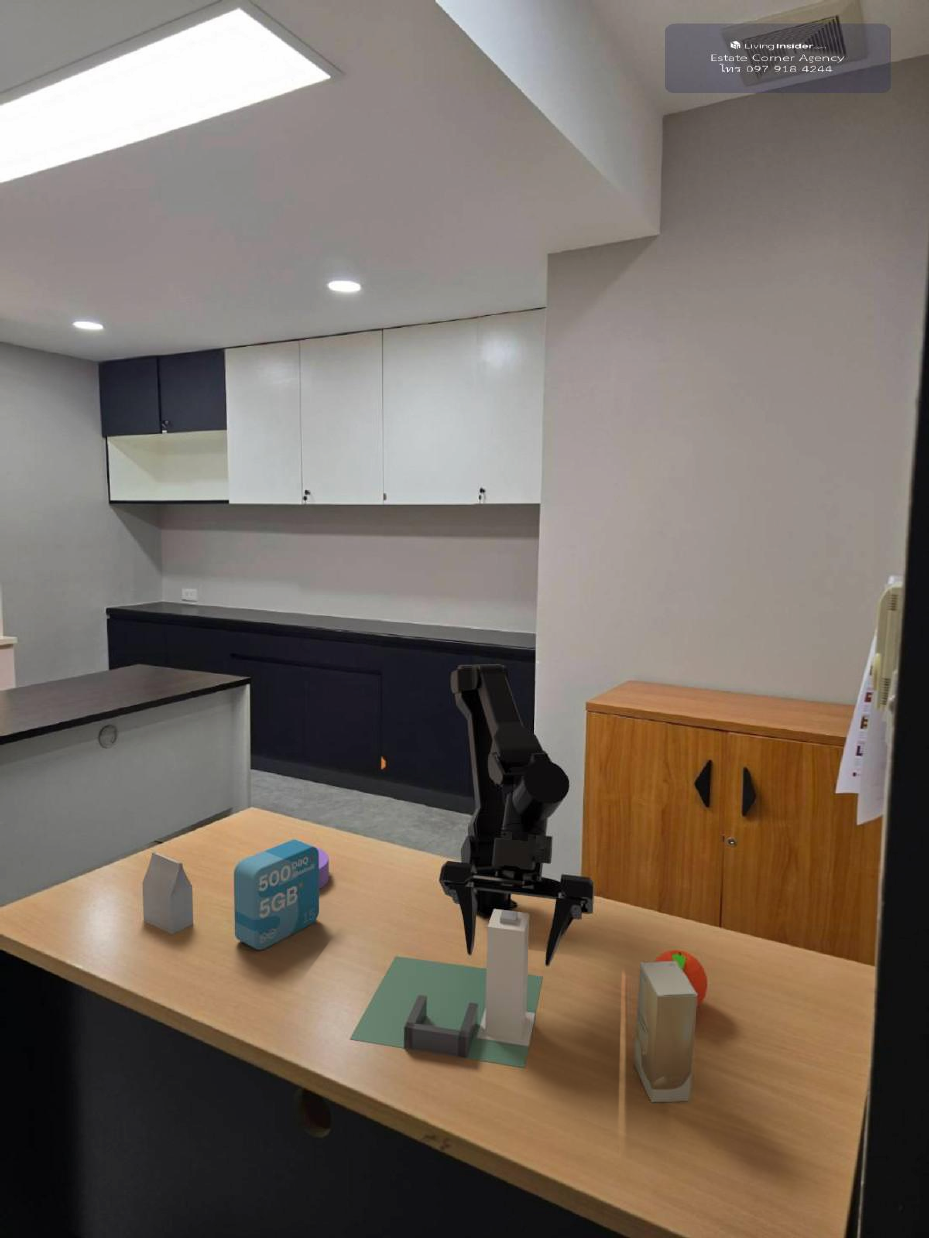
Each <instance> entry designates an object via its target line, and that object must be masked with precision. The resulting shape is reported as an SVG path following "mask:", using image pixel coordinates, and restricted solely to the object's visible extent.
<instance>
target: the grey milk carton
mask: <svg viewBox="0 0 929 1238" xmlns="http://www.w3.org/2000/svg"><path fill="white" fill-rule="evenodd" d="M193 900H194V899H193V884H192V883H191V881H190V879H189V878H188V876H187V874H186V872H185V869H184V867H183V863H182V862H180V861H177V860H175V859H173V858H170V857H168V856H167V855H166V856H165V855H163V854H161V853H158V852H156V851H154V852H151V857H150V860H149V863H148V867H147V869H146V872H145V874H144V877H143V881H142V906H143V907H142V909H143V914H142V915H143V922H145V923H148V924H150V925H151V926H153V927H156V928H157V929H160V930H162V931H164V933H165V932H166V933H167V934H168V935H173V934H176V933H178V932H180V931H182V930H184V929H186V928H188V927H190V926H193V925H194V904H193V903H194V902H193Z"/></svg>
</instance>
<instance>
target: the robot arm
mask: <svg viewBox="0 0 929 1238" xmlns="http://www.w3.org/2000/svg"><path fill="white" fill-rule="evenodd" d="M508 674H509V673H508V668H507V666H506V665H502V664H500V663H496V664H495V663H494V664H492V663H491V664H459V665H458V666H457V669H455V670H454V671H452V672H451V675H450V687H451V688H450V689H451V692H452V693H453V694H454V697H455V704H456V707H457V708H458V710H459V711H460V712H461V713H462V715H463V716H464V718H465V719H466V720H467V729H468V739H469V751H470V760H471V771H472V772H471V773H472V781H473V782H472V783H473V789H474V790H473V792H474V802H475V810H474V813H473V814H472V817H471V819H470V822H469V823H468V826H467V835H466V836H465V839H464V841H463V843H462V844H461V845H462V846H461V848H460V858H461V859H460V860H461V861H454V860H453V861H452V860H447V861H446V862H444V864H443V865H442V866H441V869H440V874H439V878H438V882H439V885H440V886H441V888H442V891H443V893H444V894H445V896H448V897H451V899H452V901H453V903H454V904H455V905H459V907H460V910H461V911H460V913H461V917H462V922H463V929H464V936H465V937H464V938H465V943H466V944H465V945H466V952H467V954H468V956H472V954H473V951H474V946H475V938H476V937H475V936H476V926H477V913H478V914H479V915H481V916H483V917H484V918H491V916H492V913H493V910H494V909H499V910H507V911H511V910H512V909H514V908H517V907H518V902H517V901H515V900H513V899H512V897H511V896H512V895H517V896H525V897H534V898H540V899H541V898H542V899H547V900H549V899H550V900H555V903H554V904H555V905H554V911H553V916H552V922H551V926H550V931H549V936H548V941H547V945H546V950H545V960H544V961H545V963H544V964H545V966H546V967H549V966H550V965H551V963H552V960H553V958H554V957H555V954H556V951H557V949H558V948H559V946H560V942H561V940H562V938H563V937H564V935H565V934H566V932H567V930H568V929H569V928H570V925H571V924H572V922H573V921H574V920H577V921H578V920H579V921H580V920H582V918H583V914H584V915H591V914H593V913H594V901H595V900H594V899H595V898H594V897H595V887H594V886H595V885H594V881H593V880H592V879H591V878H590V877H588V876H580V875H572V874H563V873H561V875H560V882H549V881H542V877H543V875H542V874H543V867H544V864H548V865H549V864H551V863H552V856H553V836H551V835H547V830H548V829H547V828H548V819H549V818H550V817H551V816H552V815H553V814H554V813H555V812H556V810H557V809H558V807H559V806H560V805H561V804H562V802H563V801H564V799H565V798H566V796H567V795H568V793H569V792H570V791H569V790H570V779H569V776H568V775H567V774H566V771H564V769H563V768H562V767H561V766H560V765H558V764H556V763H555V762H554V761H552V759H551V757H549V754H548V753H547V751H545V750H544V749H543V746H542V745H541V743H540V741H539V738H538V737H537V735H536V734H535V733H533V732H532V731H531V730H529V729H528V728H527V727H525V726H524V724H523V722H522V720H521V716H520V714H519V711H518V708H517V705H516V702H515V699H514V696H513V694H512V690H511V688H510V684H509V683H508V682H509V675H508ZM505 787H514V788H513V789H512V790H511V791H510V792H509V793H508V794H507V796H506V799H504V797H505V796H504V788H505ZM505 800H506V801H505Z"/></svg>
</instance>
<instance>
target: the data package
mask: <svg viewBox="0 0 929 1238" xmlns="http://www.w3.org/2000/svg"><path fill="white" fill-rule="evenodd" d="M316 847H317V846H313V845H311V844H309V843H305V842H303V841H300V840H298V839H291V840H288V841H286V842H283V843H281V844H277V845H276V846H273V847H270V848H268V849H265V850H263V851H261V852H257V853H256V854H253V855H250V856H248V857H246V858H243V859H241V860H240V861H238V863H237V864H236V865H235V867H234V871H233V903H234V905H233V907H234V908H233V909H234V912H233V913H234V936H235V938H236V939H237V940H238V941H240V942H242V943H244V944H246V945H248V946H249V947H251V948H252V949H255V950H257V951H262V950H265V949H267V948H268V947H270V946H273V945H274V944H276V943H278V942H281V941H282V940H284V939H286V938H288V937H289V936H291V934H292V935H294V934H296V933H297V932H299V931H301V930H303V929H304V928H306V927H309V926H310V925H313V924H314V923H315V921H316V920H317V919H318V916H319V914H320V889H319V852H318V850H317V848H318V847H317V848H316Z"/></svg>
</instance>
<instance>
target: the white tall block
mask: <svg viewBox="0 0 929 1238" xmlns="http://www.w3.org/2000/svg"><path fill="white" fill-rule="evenodd" d="M529 928H530V913H529V912H523V911H521V912H520V911H514V910H499V909H494V910H493V913H492V916H491V917H490V920H489V923H488V924H487V931H486V933H487V935H486V936H487V938H486V969H487V974H486V1018H485V1034H492V1035H498V1036H504V1037H511V1038H517V1039H522V1034H523V1029H524V1025H525V1020H526V1007H527V974H528V972H529V971H528V968H529V966H528V964H529V963H528V962H529V934H530V933H529V932H530V929H529Z"/></svg>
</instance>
